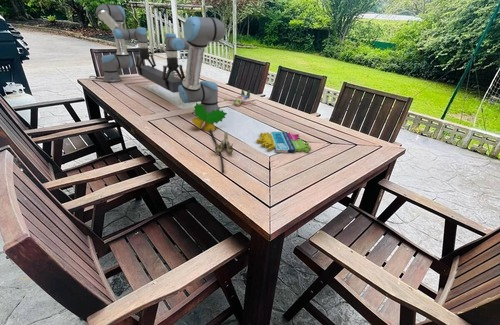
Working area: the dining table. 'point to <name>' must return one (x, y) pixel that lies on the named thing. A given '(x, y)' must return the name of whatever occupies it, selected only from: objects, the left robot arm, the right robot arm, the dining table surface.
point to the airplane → (173, 73)
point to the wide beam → (160, 78)
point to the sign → (283, 142)
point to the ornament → (207, 117)
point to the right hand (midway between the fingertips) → (174, 88)
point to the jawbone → (224, 145)
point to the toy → (241, 99)
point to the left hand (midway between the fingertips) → (147, 74)
